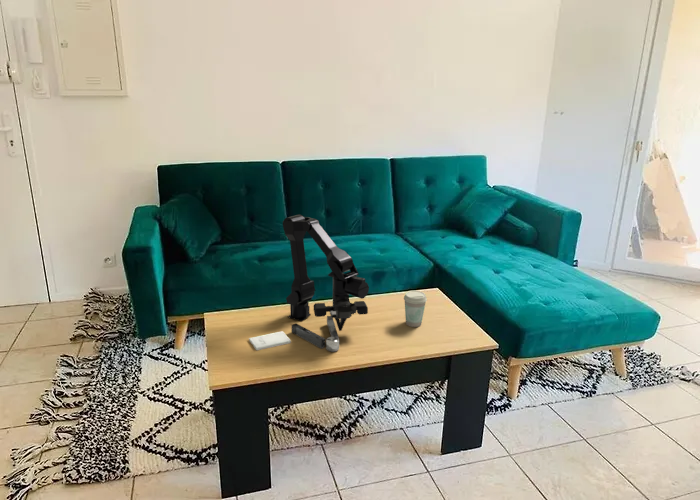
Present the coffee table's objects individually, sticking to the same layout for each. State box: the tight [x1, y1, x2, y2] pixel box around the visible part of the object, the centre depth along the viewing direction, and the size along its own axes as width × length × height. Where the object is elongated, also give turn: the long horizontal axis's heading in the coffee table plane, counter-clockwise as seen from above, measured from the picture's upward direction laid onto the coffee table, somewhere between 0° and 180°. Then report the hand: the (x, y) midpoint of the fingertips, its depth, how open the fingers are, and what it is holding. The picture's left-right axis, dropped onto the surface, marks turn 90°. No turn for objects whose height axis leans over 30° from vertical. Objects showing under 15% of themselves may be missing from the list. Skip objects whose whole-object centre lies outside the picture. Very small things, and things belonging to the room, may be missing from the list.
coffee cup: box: [403, 290, 428, 328], centre depth 198 cm, size 8×8×12 cm
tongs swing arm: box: [325, 315, 340, 352], centre depth 187 cm, size 21×5×3 cm, turn 10°
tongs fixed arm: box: [291, 323, 326, 349], centre depth 185 cm, size 16×2×3 cm, turn 45°
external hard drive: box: [248, 330, 292, 351], centre depth 184 cm, size 2×8×12 cm
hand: (340, 330), depth 190 cm, fingers closed
